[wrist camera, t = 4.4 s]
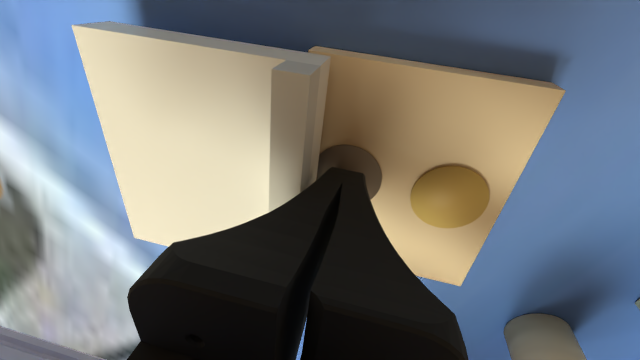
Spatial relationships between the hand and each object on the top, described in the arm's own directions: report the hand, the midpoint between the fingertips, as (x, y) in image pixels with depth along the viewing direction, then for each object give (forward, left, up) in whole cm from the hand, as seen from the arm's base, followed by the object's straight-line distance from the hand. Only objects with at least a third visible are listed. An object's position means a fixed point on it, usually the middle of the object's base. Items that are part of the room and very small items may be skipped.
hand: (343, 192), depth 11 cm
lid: (0, +5, -1) cm, 5 cm away
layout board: (0, -2, -2) cm, 3 cm away
